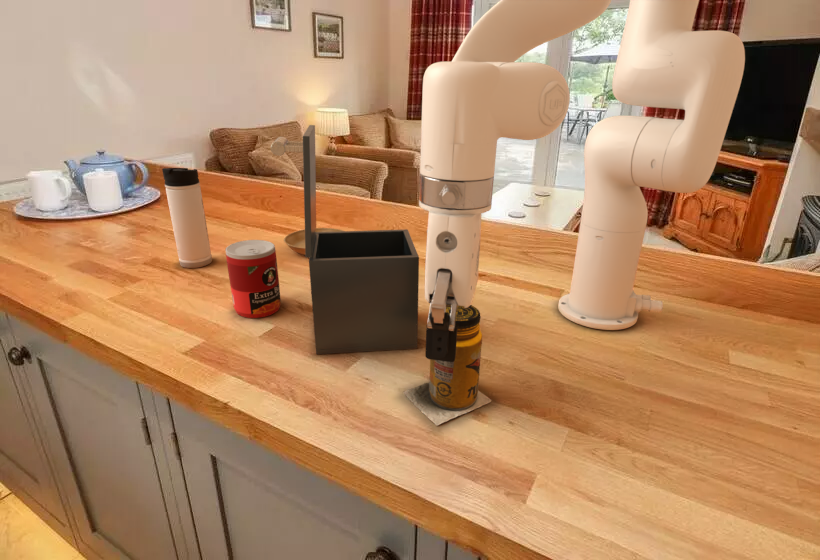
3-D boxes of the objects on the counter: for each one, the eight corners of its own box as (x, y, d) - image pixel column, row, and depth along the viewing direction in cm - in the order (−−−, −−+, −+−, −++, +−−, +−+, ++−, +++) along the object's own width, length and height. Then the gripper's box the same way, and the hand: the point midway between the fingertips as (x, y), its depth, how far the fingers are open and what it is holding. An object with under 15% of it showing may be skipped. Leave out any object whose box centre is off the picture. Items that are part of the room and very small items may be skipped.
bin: (407, 310, 83) (407, 229, 77) (417, 348, 72) (419, 257, 66) (319, 314, 81) (313, 231, 76) (316, 354, 70) (308, 261, 64)
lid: (315, 125, 70) (278, 123, 69) (309, 136, 58) (265, 134, 57) (316, 229, 76) (282, 228, 75) (311, 257, 64) (271, 257, 63)
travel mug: (171, 266, 100) (152, 167, 92) (195, 256, 106) (179, 162, 98) (195, 270, 98) (177, 170, 90) (218, 260, 104) (204, 164, 96)
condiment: (492, 402, 60) (500, 315, 56) (436, 427, 56) (440, 335, 51) (455, 373, 66) (459, 292, 61) (402, 394, 62) (402, 308, 57)
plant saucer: (275, 257, 105) (273, 246, 104) (297, 236, 119) (296, 226, 118) (342, 261, 104) (341, 249, 103) (357, 239, 117) (356, 228, 116)
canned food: (257, 323, 78) (248, 258, 74) (223, 311, 82) (214, 249, 78) (291, 305, 84) (285, 245, 80) (259, 294, 88) (251, 236, 84)
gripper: (485, 216, 42) (471, 384, 49) (497, 179, 58) (485, 310, 64) (400, 209, 44) (397, 373, 50) (434, 175, 59) (429, 303, 66)
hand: (447, 337), depth 57 cm, fingers open, 9 cm apart
